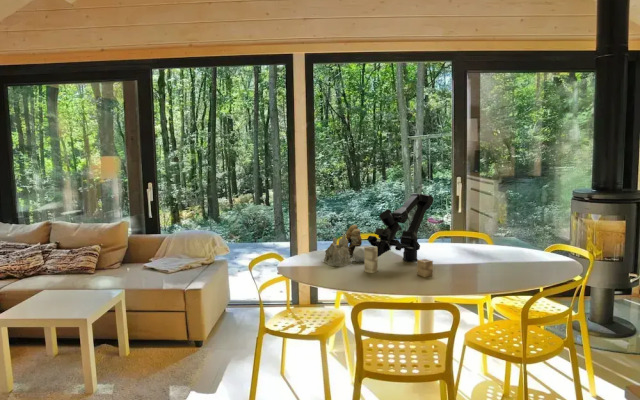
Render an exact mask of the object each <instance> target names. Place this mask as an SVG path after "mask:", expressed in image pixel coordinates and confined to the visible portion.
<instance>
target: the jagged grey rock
mask: <svg viewBox="0 0 640 400" xmlns="http://www.w3.org/2000/svg"><path fill="white" fill-rule="evenodd" d="M348 247H349V243H348V239H347V238H346V234H343V236H342V237H341V238H339V240H338V244H337V237H333V239H332V242H331V243H330V245H329V247H327V248H326V250H325V251H324V252H325V255H324V258H323V262H324V263H326V264H327V265H329V266H331V265H332V267H344V266H348V265H350V264H352V261H351V259H352V258H351V257H352V256H350V253H349V251H348V249H349V248H348Z"/></svg>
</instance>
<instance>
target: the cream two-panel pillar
mask: <svg viewBox="0 0 640 400" xmlns="http://www.w3.org/2000/svg"><path fill="white" fill-rule="evenodd" d="M364 247H365V262H364V272H365V273H369V274H374V273H377V272H378V266H379V265H378V261H379V260H378V258H379V257H378V247H376V246H372V245H370V246H364Z"/></svg>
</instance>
